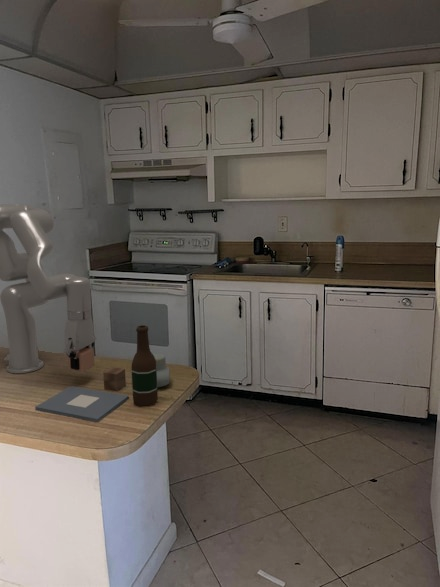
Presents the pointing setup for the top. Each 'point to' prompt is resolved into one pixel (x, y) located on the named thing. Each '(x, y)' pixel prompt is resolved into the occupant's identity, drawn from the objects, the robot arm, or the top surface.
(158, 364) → the air freshener
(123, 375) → the walnut block
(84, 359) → the terracotta block
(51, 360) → the top surface
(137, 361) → the beer bottle
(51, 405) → the board
